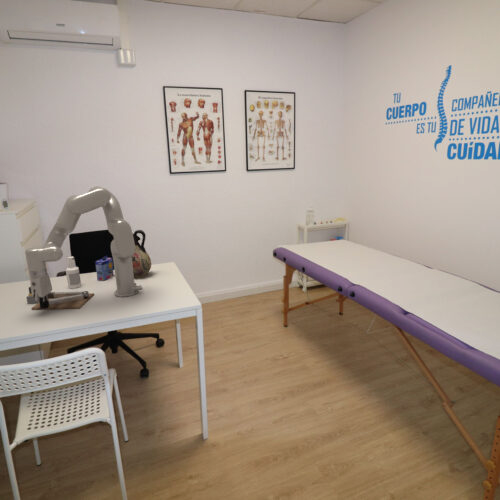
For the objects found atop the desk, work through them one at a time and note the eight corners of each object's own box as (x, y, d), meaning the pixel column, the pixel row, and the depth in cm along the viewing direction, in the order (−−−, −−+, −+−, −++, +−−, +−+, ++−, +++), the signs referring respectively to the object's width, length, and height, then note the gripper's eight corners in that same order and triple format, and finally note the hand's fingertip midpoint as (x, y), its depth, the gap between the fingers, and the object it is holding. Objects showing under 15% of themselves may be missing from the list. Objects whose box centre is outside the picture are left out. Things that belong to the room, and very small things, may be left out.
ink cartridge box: (104, 281, 218) (101, 258, 214) (96, 280, 219) (93, 257, 216) (114, 276, 227) (112, 254, 223) (107, 275, 229) (104, 253, 225)
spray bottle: (76, 289, 206) (71, 259, 201) (65, 288, 207) (61, 258, 202) (83, 285, 212) (79, 255, 207) (73, 284, 213) (69, 255, 209)
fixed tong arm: (83, 295, 193) (83, 291, 192) (81, 297, 190) (81, 293, 190) (48, 296, 192) (48, 292, 192) (46, 298, 190) (45, 293, 190)
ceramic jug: (123, 280, 219) (117, 232, 212) (132, 272, 234) (127, 227, 226) (150, 279, 219) (145, 232, 211) (157, 271, 233) (153, 226, 226)
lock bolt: (46, 291, 192) (45, 284, 191) (40, 295, 186) (38, 288, 185) (35, 291, 192) (33, 284, 191) (28, 296, 186) (27, 288, 185)
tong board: (94, 295, 196) (94, 293, 196) (79, 308, 179) (79, 306, 179) (50, 296, 196) (50, 294, 196) (31, 309, 179) (31, 308, 178)
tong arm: (88, 295, 192) (88, 290, 191) (89, 298, 189) (88, 293, 188) (40, 304, 183) (39, 298, 182) (40, 307, 179) (39, 301, 178)
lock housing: (48, 297, 194) (46, 291, 193) (39, 303, 186) (38, 296, 185) (36, 297, 194) (34, 291, 193) (27, 303, 186) (26, 296, 185)
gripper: (37, 277, 164) (44, 314, 169) (54, 267, 179) (59, 301, 183) (21, 278, 164) (28, 314, 169) (39, 268, 178) (45, 302, 183)
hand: (44, 308), depth 176 cm, fingers closed
